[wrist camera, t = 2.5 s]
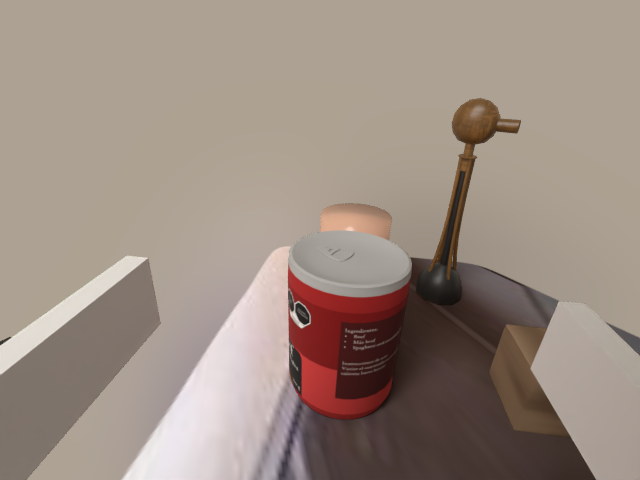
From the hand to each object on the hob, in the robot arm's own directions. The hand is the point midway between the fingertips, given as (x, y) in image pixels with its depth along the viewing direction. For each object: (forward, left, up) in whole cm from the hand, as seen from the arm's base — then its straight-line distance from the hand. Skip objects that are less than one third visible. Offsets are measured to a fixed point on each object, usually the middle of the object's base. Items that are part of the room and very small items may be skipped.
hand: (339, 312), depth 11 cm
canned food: (+4, -9, -14) cm, 17 cm away
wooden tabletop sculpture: (0, -26, -14) cm, 29 cm away
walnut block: (-9, -15, -14) cm, 23 cm away
